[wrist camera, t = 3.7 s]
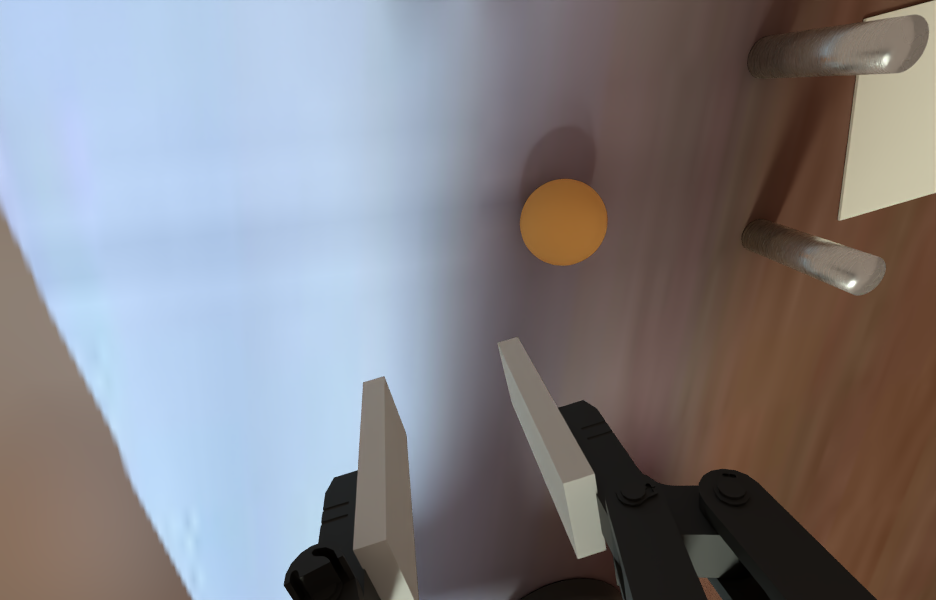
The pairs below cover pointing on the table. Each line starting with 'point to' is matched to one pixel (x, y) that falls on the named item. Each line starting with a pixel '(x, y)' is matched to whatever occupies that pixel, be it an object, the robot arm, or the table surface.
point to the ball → (563, 222)
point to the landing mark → (893, 131)
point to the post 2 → (815, 256)
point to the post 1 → (842, 49)
